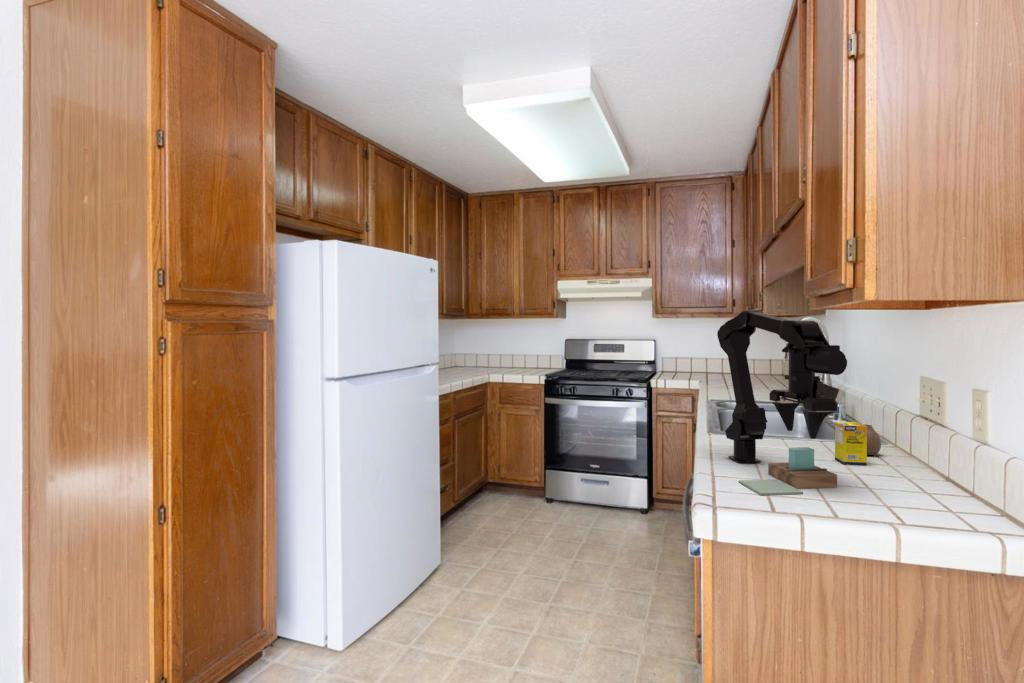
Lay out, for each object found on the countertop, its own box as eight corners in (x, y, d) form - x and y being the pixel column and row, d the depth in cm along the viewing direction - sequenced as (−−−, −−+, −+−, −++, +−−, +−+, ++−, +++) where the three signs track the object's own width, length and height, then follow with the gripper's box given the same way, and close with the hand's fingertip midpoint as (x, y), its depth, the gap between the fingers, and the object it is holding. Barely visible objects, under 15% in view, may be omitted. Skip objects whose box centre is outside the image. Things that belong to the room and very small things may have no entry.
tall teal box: (788, 479, 131) (788, 447, 130) (807, 479, 131) (808, 447, 131) (794, 482, 128) (794, 450, 128) (814, 481, 128) (814, 449, 128)
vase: (886, 457, 151) (887, 427, 151) (862, 457, 151) (862, 427, 151) (870, 451, 158) (870, 422, 158) (847, 451, 158) (847, 423, 158)
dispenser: (768, 474, 135) (768, 461, 135) (805, 473, 136) (805, 460, 136) (796, 488, 123) (796, 474, 123) (837, 487, 124) (837, 473, 124)
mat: (738, 482, 128) (738, 480, 128) (777, 481, 129) (777, 479, 129) (760, 495, 118) (760, 493, 118) (803, 494, 119) (803, 491, 119)
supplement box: (867, 465, 143) (867, 425, 142) (843, 464, 144) (843, 425, 143) (857, 460, 148) (858, 421, 148) (834, 459, 150) (834, 421, 149)
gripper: (860, 374, 120) (859, 442, 120) (809, 368, 139) (808, 426, 139) (813, 375, 119) (813, 443, 120) (768, 368, 138) (768, 427, 138)
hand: (801, 434), depth 129 cm, fingers open, 9 cm apart
